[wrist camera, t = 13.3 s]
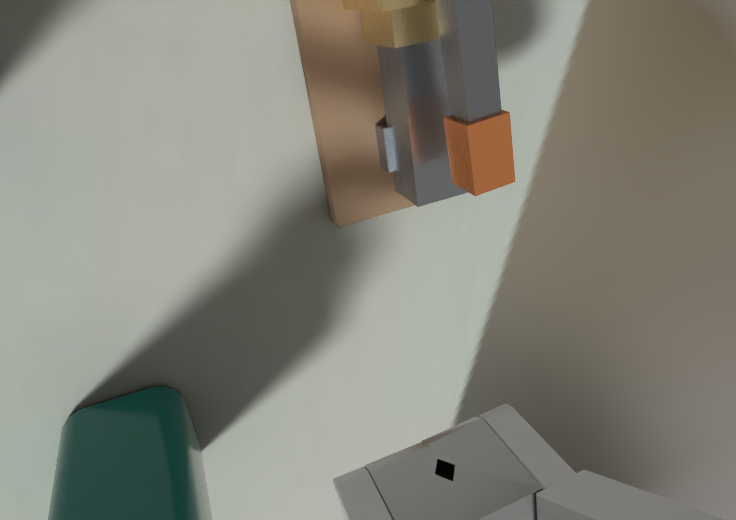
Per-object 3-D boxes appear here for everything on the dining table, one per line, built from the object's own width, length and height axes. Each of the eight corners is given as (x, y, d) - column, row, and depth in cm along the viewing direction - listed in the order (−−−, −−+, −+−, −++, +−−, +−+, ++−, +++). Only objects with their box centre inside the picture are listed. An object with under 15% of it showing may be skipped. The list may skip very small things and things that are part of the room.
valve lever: (405, -99, 27) (436, -110, 24) (457, -110, 28) (492, -122, 25) (445, 181, 34) (473, 196, 31) (486, 167, 35) (516, 181, 32)
